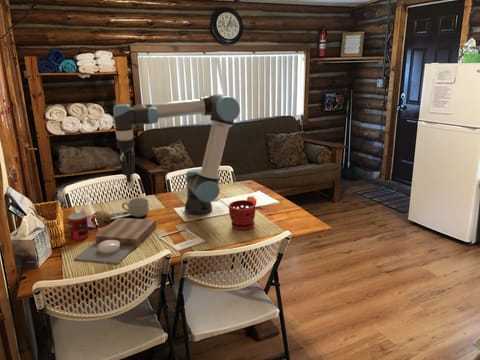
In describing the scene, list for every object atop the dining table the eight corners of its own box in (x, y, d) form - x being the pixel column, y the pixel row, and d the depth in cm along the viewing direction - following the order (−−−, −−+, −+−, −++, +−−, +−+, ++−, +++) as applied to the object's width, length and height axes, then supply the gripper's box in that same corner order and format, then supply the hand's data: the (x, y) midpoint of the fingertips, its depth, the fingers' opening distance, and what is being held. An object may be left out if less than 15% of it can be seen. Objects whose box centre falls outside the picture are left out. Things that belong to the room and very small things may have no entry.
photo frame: (177, 249, 170) (158, 236, 184) (177, 252, 170) (158, 238, 184) (205, 240, 179) (185, 228, 192) (205, 242, 179) (185, 230, 193)
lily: (71, 237, 186) (78, 222, 183) (63, 222, 193) (70, 206, 190) (94, 237, 195) (101, 222, 192) (86, 222, 202) (93, 207, 199)
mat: (134, 247, 174) (134, 246, 174) (118, 264, 160) (118, 262, 159) (93, 244, 177) (93, 243, 177) (74, 260, 163) (73, 258, 163)
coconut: (97, 233, 197) (100, 222, 193) (84, 222, 200) (87, 210, 196) (113, 227, 205) (116, 215, 201) (100, 215, 208) (103, 204, 204)
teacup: (152, 211, 215) (151, 198, 213) (145, 219, 205) (144, 205, 203) (127, 211, 217) (126, 197, 214) (119, 218, 206) (118, 204, 204)
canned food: (73, 234, 188) (71, 213, 184) (91, 233, 188) (88, 212, 185) (68, 241, 180) (65, 219, 177) (86, 240, 181) (83, 218, 178)
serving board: (156, 227, 195) (155, 220, 194) (137, 247, 174) (136, 239, 173) (118, 224, 198) (118, 217, 197) (95, 243, 178) (94, 235, 176)
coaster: (124, 246, 173) (123, 241, 173) (111, 255, 165) (110, 250, 165) (107, 243, 177) (107, 238, 176) (94, 252, 168) (93, 246, 168)
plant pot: (242, 219, 205) (242, 197, 201) (260, 226, 196) (260, 204, 192) (223, 226, 196) (223, 204, 192) (242, 234, 187) (242, 210, 183)
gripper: (123, 136, 186) (129, 183, 193) (110, 141, 173) (117, 192, 180) (138, 136, 184) (143, 183, 191) (126, 142, 172) (132, 192, 179)
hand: (130, 187), depth 186 cm, fingers closed
